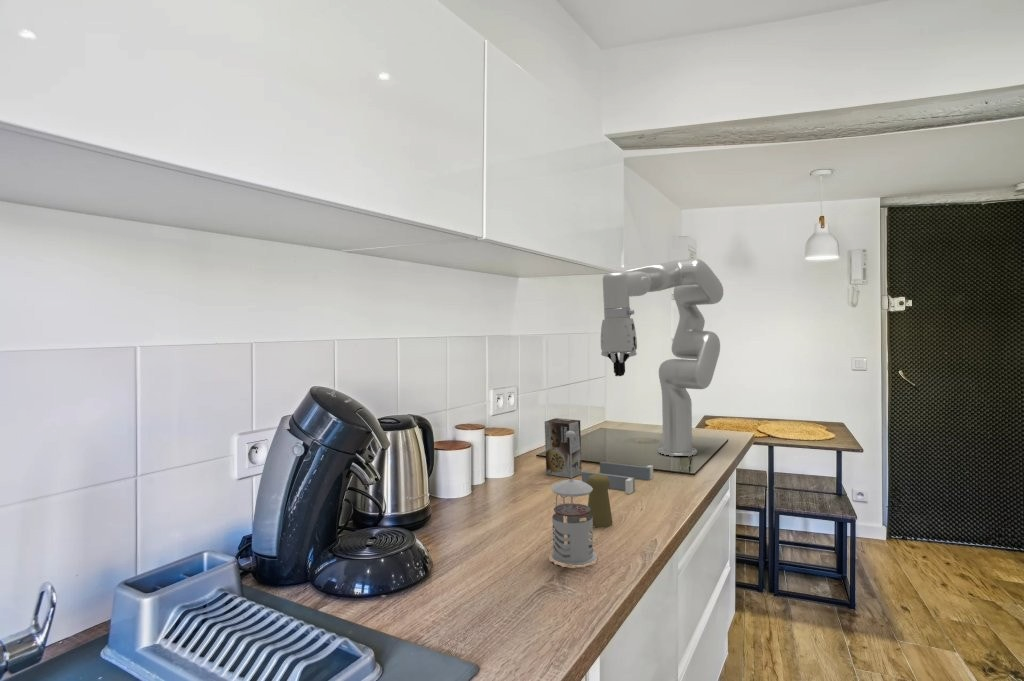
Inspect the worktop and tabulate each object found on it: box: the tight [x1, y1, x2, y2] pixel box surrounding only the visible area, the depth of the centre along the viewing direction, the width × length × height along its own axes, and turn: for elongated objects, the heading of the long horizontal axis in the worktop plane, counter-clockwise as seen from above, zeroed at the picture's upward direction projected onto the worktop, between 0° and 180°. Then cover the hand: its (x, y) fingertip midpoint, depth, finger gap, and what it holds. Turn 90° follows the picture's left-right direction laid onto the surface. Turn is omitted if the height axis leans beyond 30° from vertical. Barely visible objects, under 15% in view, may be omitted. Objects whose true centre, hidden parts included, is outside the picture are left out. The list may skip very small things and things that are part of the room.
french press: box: [550, 431, 597, 565], centre depth 118 cm, size 10×12×25 cm
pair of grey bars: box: [581, 461, 654, 495], centre depth 170 cm, size 18×15×4 cm
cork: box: [585, 474, 614, 528], centre depth 137 cm, size 6×6×11 cm
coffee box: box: [544, 417, 583, 479], centre depth 179 cm, size 9×6×16 cm
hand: (619, 375), depth 180 cm, fingers closed
